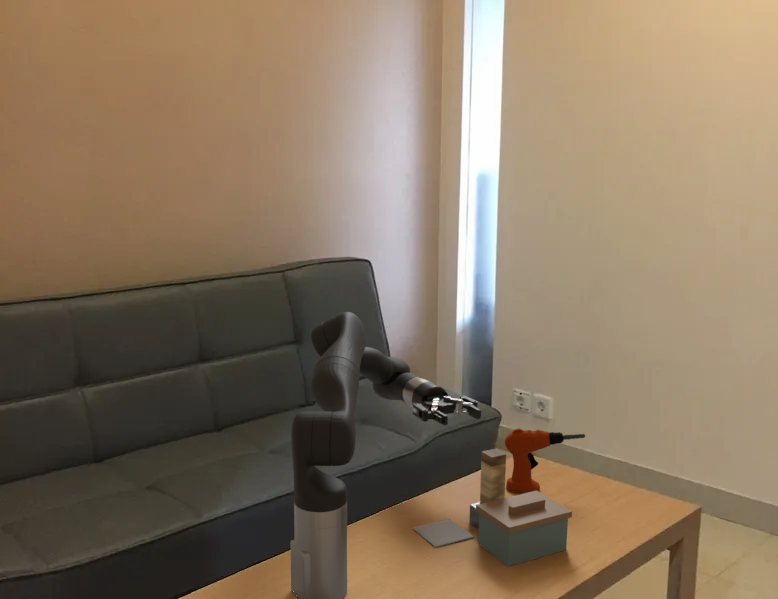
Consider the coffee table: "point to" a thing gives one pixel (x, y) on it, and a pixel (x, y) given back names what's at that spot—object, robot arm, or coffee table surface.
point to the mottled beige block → (492, 475)
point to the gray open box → (474, 515)
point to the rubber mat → (442, 533)
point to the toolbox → (523, 527)
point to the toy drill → (529, 455)
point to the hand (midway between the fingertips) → (463, 417)
